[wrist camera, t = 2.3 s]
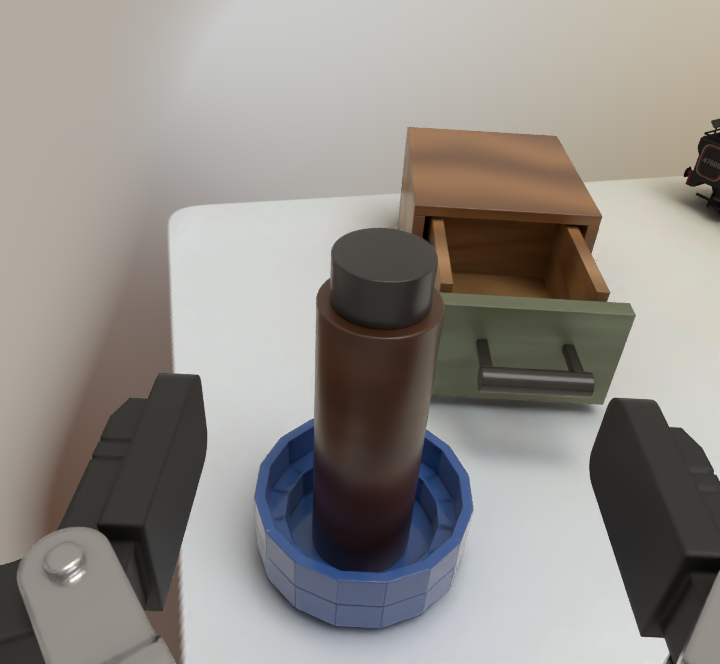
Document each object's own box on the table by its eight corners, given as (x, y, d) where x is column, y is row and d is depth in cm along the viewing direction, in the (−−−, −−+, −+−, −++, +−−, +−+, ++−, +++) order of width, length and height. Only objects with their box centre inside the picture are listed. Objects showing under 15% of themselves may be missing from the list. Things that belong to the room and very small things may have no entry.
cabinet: (571, 320, 50) (602, 216, 45) (402, 310, 50) (414, 204, 45) (535, 227, 62) (557, 135, 57) (398, 218, 62) (407, 126, 57)
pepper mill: (308, 572, 32) (311, 286, 22) (316, 491, 36) (321, 217, 26) (410, 578, 32) (458, 294, 22) (407, 496, 36) (446, 225, 26)
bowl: (244, 628, 30) (239, 575, 27) (272, 458, 38) (271, 406, 35) (469, 639, 30) (484, 588, 28) (450, 468, 38) (461, 416, 36)
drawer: (621, 452, 38) (659, 359, 34) (421, 441, 38) (435, 346, 34) (557, 285, 52) (578, 205, 48) (410, 276, 52) (419, 196, 48)
